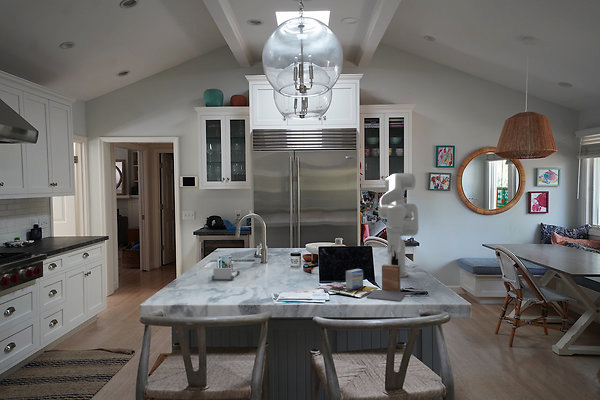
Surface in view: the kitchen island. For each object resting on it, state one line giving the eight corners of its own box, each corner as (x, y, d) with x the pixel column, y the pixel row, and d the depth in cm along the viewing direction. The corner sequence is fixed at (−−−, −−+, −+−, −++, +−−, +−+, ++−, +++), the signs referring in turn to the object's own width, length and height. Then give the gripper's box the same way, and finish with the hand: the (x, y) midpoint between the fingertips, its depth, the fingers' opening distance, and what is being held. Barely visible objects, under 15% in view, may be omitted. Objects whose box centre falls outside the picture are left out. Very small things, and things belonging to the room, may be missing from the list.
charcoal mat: (374, 290, 192) (374, 289, 192) (406, 293, 186) (406, 292, 186) (366, 298, 180) (366, 296, 180) (400, 301, 173) (400, 300, 173)
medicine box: (351, 289, 194) (351, 272, 194) (345, 287, 198) (345, 270, 198) (363, 286, 199) (363, 269, 199) (357, 285, 203) (357, 268, 202)
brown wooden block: (383, 288, 195) (383, 264, 195) (400, 290, 192) (400, 265, 191) (381, 290, 191) (381, 266, 191) (398, 292, 188) (398, 267, 187)
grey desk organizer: (221, 257, 234) (240, 257, 233) (221, 273, 235) (240, 274, 233) (211, 263, 216) (231, 263, 215) (211, 281, 217) (232, 281, 216)
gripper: (390, 228, 207) (390, 263, 208) (383, 231, 193) (384, 269, 194) (405, 229, 204) (405, 264, 204) (399, 232, 190) (399, 270, 191)
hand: (394, 266), depth 199 cm, fingers closed
